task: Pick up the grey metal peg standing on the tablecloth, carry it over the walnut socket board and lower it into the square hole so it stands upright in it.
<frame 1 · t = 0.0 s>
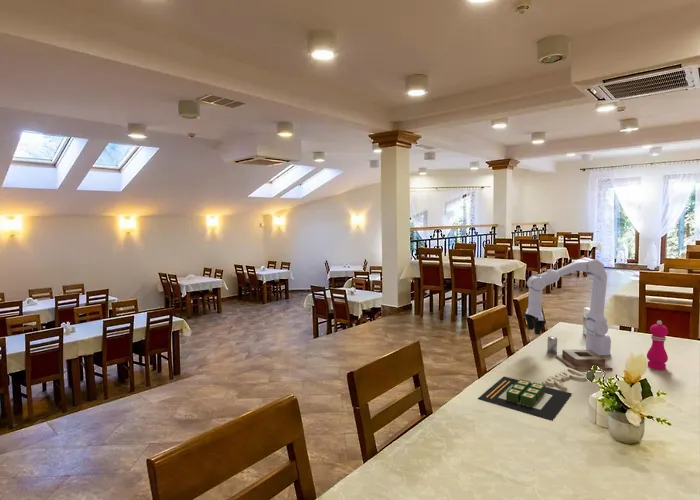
hand: (534, 331, 198), 10 cm above the table, tool pointing down, fingers open, 7 cm apart
decorative sign: (565, 382, 168), on the table
socket board: (582, 363, 186), on the table
sushi: (525, 398, 155), on the table
pepper mill: (656, 367, 180), on the table
peg: (551, 352, 200), on the table
syrup box: (590, 335, 224), on the table
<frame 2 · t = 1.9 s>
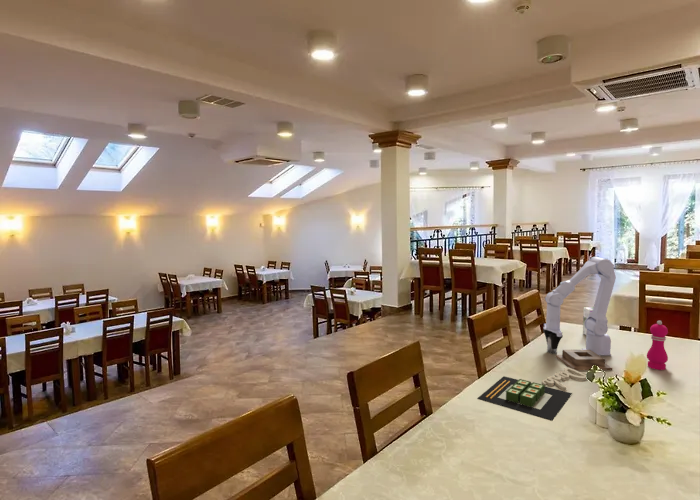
hand: (552, 347, 200), 2 cm above the table, tool pointing down, fingers closed on peg, 4 cm apart
peg: (551, 352, 200), on the table, touching gripper
everything else where it was.
when the fingers open (5 cm above the table, at t = 5.5 s): peg drops 2 cm, resting on socket board.
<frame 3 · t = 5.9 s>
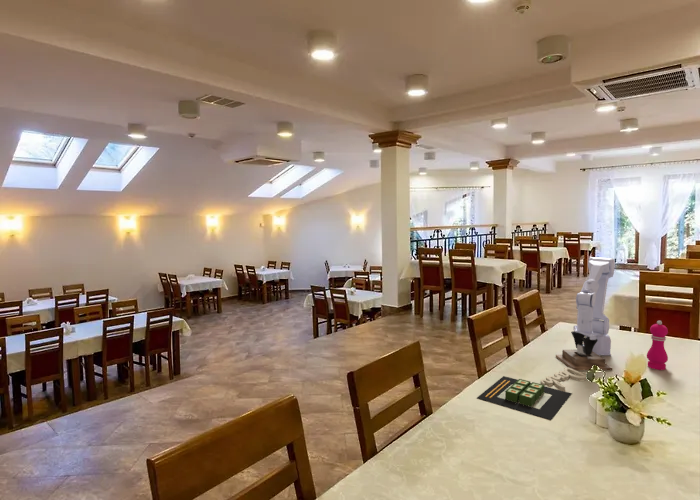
hand: (583, 351, 185), 5 cm above the table, tool pointing down, fingers open, 7 cm apart
peg: (581, 360, 186), point 1 cm above the table, touching socket board
everything else where it was.
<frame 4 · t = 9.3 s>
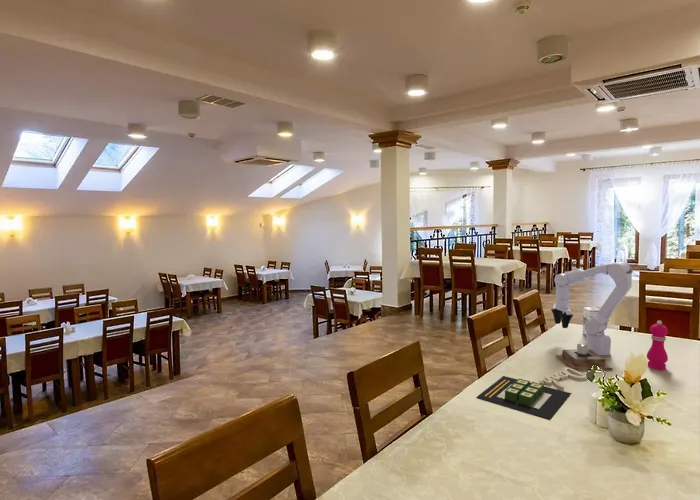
hand: (561, 325, 210), 9 cm above the table, tool pointing down, fingers open, 7 cm apart
nothing on the table moved.
at the end: peg 0.4 cm off-centre on the socket board, point 1.1 cm above the socket board's base; peg tilted 2°; the gripper is holding nothing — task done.
